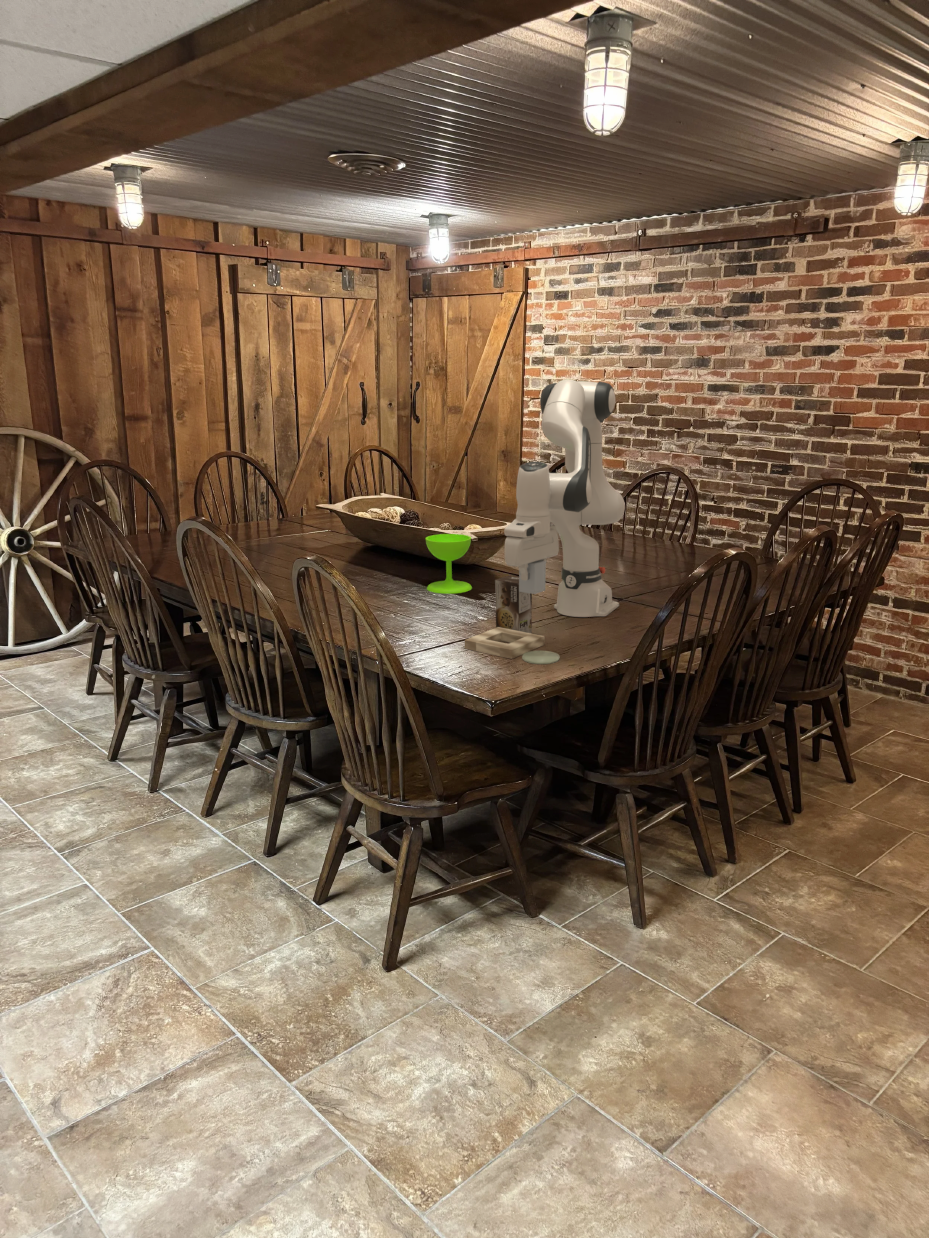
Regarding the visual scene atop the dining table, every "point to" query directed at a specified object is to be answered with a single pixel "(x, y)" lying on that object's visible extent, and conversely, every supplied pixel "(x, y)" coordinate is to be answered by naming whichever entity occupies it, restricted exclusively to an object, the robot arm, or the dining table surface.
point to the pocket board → (493, 646)
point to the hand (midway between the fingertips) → (532, 577)
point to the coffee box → (513, 605)
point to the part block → (534, 578)
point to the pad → (540, 657)
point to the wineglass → (448, 560)
